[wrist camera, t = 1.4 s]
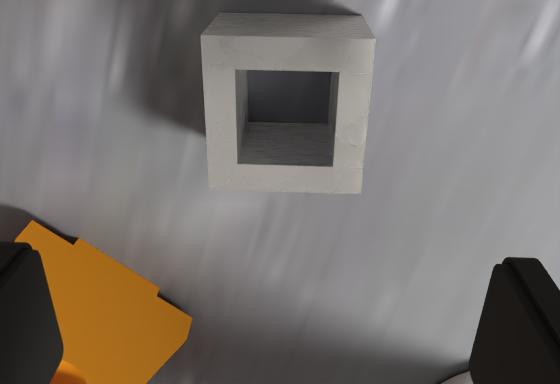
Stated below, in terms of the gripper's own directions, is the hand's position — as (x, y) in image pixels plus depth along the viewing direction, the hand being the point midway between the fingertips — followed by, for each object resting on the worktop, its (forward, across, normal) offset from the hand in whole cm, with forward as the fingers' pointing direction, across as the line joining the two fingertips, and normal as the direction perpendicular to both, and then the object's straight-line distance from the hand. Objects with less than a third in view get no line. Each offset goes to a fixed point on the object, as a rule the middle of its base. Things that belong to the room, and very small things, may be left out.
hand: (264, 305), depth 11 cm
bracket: (+16, +12, +14) cm, 25 cm away
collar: (+16, 0, 0) cm, 16 cm away
